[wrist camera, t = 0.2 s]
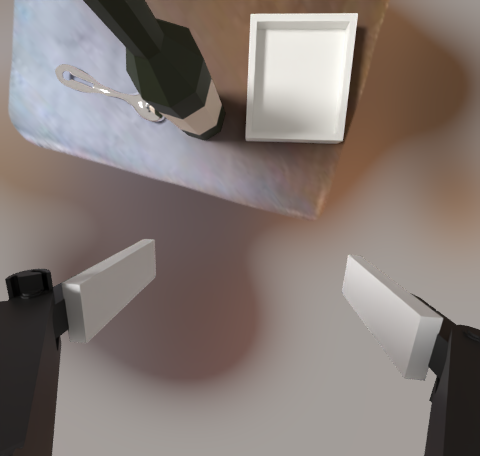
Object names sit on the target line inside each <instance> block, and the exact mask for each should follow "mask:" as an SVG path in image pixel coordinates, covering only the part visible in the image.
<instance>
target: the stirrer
mask: <svg viewBox="0 0 480 456" xmlns="http://www.w3.org/2000/svg"><path fill="white" fill-rule="evenodd" d="M65 71H69V72H70V73H71V74H72V75H73V76H75V77H78V78H80V79H83V80H85V81H88V82H90V83H93V84H94V86H93V88H92V87H90V86H87V85H85V84H82V83H80V82H77V81H75V80H72V79H71V80H69V81H67V80H65V79H64V77H63V73H64V72H65ZM55 72H56V75H57V78H58V79H59V81H60V82H61V83H63V84H64V85H66V86H68V87H70V88H72V89H75V90H78V91H82V92H86V93H101V94H105V95H107V96H112V97H118V98H121V99H123V100H125V101H126V102H128V103H129V104H130V105H131V106H132V108H133V109H134V110H135V112H136V113H137V114H138V115H139V116H140V117H142V118H143V119H146V120H148V121H153V122H158V121H162V120H164V118H165V117H164V116H163V115H162V114H161V113H159V112H158V111H157V110H156V109H154V108H153V107H152V106H150V105H149V104H148V103H147V102H145V101H144V100H143V99H142V98H141V96H140V94H139V92H136V93H132V94H123V93H119V92H117V91H114V90H112V89H110V88H108V87H105V86H103V85H101V84H100V83H98V82H97V81H96V80H95V79H94V78H93V77H91V76H90V75H88V74H86V73H85V72H83V71H81V70H79V69H77V68H75V67H73V66H70V65H66V64H62V65H60V66H58V67H57V68H56V70H55Z"/></svg>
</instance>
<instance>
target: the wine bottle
mask: <svg viewBox="0 0 480 456" xmlns="http://www.w3.org/2000/svg"><path fill="white" fill-rule="evenodd" d="M83 1H84V2H85V3H86V4H87V5H88V6H89V7H90V8H91V9H92V11H93V12H94V13H95V14H96V15H97V16H98V17H99V18H100V19H101V20H102V21H103V23H104V24H105V25H106V26H107V27H108V28H109V29H110V30H111V31H112V32H113V33H114V35H115V36H116V37H117V38H118V39H119V40H120V41H121V42H122V43H123V44H124V45H125V47H126V70H127V72H128V74H129V76H130V78H131V79H132V81H133V83H134V85H135V87H136V89H137V90H138V92H139V94H140V96H141V98H142V99H143V100H144V101H145V102H147V103H148V104H149V105H150V106H152V107H153V108H154V109H156V110H157V111H158V112H159V113H161V114H162V115H163V116H164V117H166V118H167V119H168V120H170V121H171V122H172V123H173V124H175V125H176V126H177V127H178V128H180V129H181V130H182V131H183V132H185V133H186V134H187V135H189V136H192V137H195V138H198V139H202V140H207V139H209V138H210V137H212V136H214V135H215V134H217V133H219V132H220V131H221V128H222V124H223V120H224V116H225V111H224V108H223V106H222V103H221V101H220V98H219V96H218V93H217V91H216V88H215V86H214V83H213V81H212V78H211V76H210V73H209V71H208V68H207V66H206V63H205V61H204V58H203V56H202V54H201V52H200V50H199V48H198V46H197V44H196V43H195V41H194V39H193V37H192V35H191V33H190V31H189V29H188V28H186V27H183V26H180V25H176V24H173V23H170V22H167V21H163V20H160V19H156V18H155V17H154V15H153V13H152V12H151V10H150V8H149V7H148V5H147V3H146V2H145V0H83Z"/></svg>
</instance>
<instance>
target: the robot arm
mask: <svg viewBox="0 0 480 456" xmlns="http://www.w3.org/2000/svg"><path fill="white" fill-rule="evenodd" d="M155 277H156V267H155V240H150V239H143V240H141V241H139V242H137V243H136V244H134V245H132V246H130V247H128V248H126V249H124V250H123V251H121V252H119V253H117V254H115V255H113V256H111V257H110V258H108V259H106V260H104V261H102V262H100V263H98V264H97V265H95V266H93V267H91V268H89V269H87V270H85V271H83V272H81V273H79V274H78V275H75V276H74V277H71V278H70V279H68V280H66V281H64V282H62V283H60V284H58V285H56V286H54V287H53V285H52V279H51V272H50V271H49V270H47V269H33V270H27V271H22V272H19V273H15V274H13V275H11V276H9V277H7V278H6V279H5V280H6V285H7V290H8V295H9V300H8V301H2V302H0V456H52V447H53V436H54V424H55V412H56V400H57V388H58V376H59V364H60V353H61V338H60V335H62V334H63V333H64V332H65V331H67V330H68V332H69V339H70V342H80V343H87V342H88V341H89V340H90V339H92V337H94V336H95V334H97V333H98V332H99V331H100V330H101V329H102V328H103V327H104V326H105V325H106V324H107V323H108V322H109V321H110V320H111V319H112V318H113V317H114V316H115V315H116V314H117V313H118V312H119V311H120V310H122V309H123V308H124V307H125V306H126V305H127V304H128V303H129V302H130V301H131V300H132V299H133V298H134V297H135V296H136V295H137V294H138V293H139V292H140V291H141V290H142V289H143V288H144V287H145V286H146V285H147V284H149V283H150V282H151V281H152V280H153V279H154V278H155ZM342 294H343V295H344V296H345V298H346V299H347V300H348V302H349V303H350V304H351V306H352V307H353V309H354V310H355V311H356V313H357V314H358V316H359V317H360V318H361V319H362V321H363V322H364V324H365V325H366V326H367V327H368V329H369V330H370V332H371V333H372V335H373V336H374V337H375V339H376V340H377V341H378V343H379V344H380V346H381V347H382V348H383V350H384V351H385V353H386V354H387V355H388V357H389V358H390V359H391V361H392V362H393V363H394V365H395V366H396V368H397V369H398V370H399V372H400V373H401V374H402V376H403V377H404V378H406V379H416V380H425V378H426V375H427V371H428V368H430V369H431V370H432V371H433V372H434V373H435V374H436V375H437V378H436V381H435V384H434V387H433V391H432V394H431V397H430V401H431V402H432V405H431V412H430V419H429V426H428V433H427V441H426V447H425V455H424V456H480V330H479V329H476V328H473V327H469V326H465V325H456V324H455V323H453V322H452V321H451V320H449V319H448V318H447V317H445V316H444V315H442V314H441V313H440V312H438V311H436V309H434V308H433V307H431V306H430V305H429V304H428V303H426V302H425V301H424V300H422V299H421V298H419V297H417V296H415V295H413V294H411V293H409V292H408V291H407V290H405V289H404V288H403V287H401V286H400V285H399V284H397V283H396V282H395V281H393V280H392V279H391V278H389V277H388V276H387V275H386V274H384V273H383V272H382V271H380V270H379V269H378V268H376V267H375V266H374V265H372V264H371V263H369V262H368V261H367V260H366V259H364V258H363V257H362V256H359V255H348V260H347V266H346V271H345V277H344V283H343V289H342Z"/></svg>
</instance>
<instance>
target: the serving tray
mask: <svg viewBox="0 0 480 456" xmlns="http://www.w3.org/2000/svg"><path fill="white" fill-rule="evenodd" d="M357 18H358V13H346V14H251V21H250V44H249V67H248V91H247V114H246V137H245V138H246V141H262V142H297V143H331V144H338V143H340V142H341V141H343V136H344V127H345V119H346V111H347V102H348V94H349V85H350V77H351V69H352V60H353V52H354V43H355V35H356V26H357Z"/></svg>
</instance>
